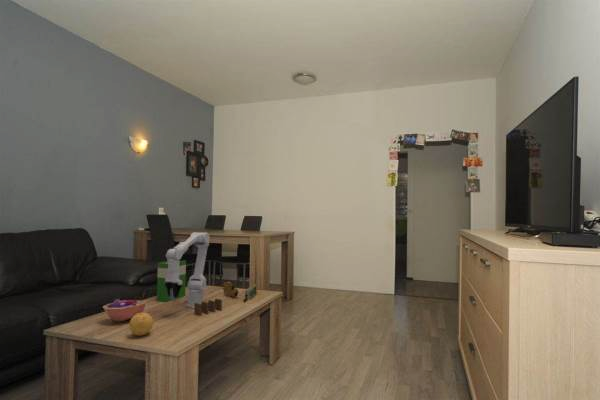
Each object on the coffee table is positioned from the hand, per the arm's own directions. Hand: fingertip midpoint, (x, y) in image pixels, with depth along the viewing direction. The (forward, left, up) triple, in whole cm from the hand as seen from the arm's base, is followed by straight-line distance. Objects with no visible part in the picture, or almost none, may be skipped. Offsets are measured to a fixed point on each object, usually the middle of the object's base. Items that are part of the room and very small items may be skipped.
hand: (173, 296), depth 189 cm
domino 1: (0, 0, -2) cm, 2 cm away
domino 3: (+8, +15, -10) cm, 20 cm away
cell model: (-12, -20, -11) cm, 26 cm away
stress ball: (+17, -25, -11) cm, 32 cm away
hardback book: (-37, +20, -11) cm, 43 cm away
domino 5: (+8, +24, -10) cm, 27 cm away
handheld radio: (-1, +55, -11) cm, 56 cm away
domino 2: (+8, +10, -10) cm, 17 cm away
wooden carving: (-13, +49, -11) cm, 52 cm away
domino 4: (+8, +19, -10) cm, 23 cm away
